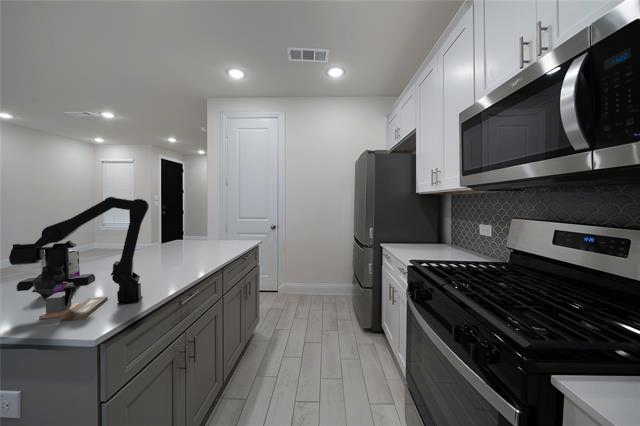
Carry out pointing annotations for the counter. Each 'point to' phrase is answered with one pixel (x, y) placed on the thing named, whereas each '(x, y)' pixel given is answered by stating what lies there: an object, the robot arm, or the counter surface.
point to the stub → (57, 306)
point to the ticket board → (84, 309)
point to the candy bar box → (72, 268)
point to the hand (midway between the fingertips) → (59, 306)
